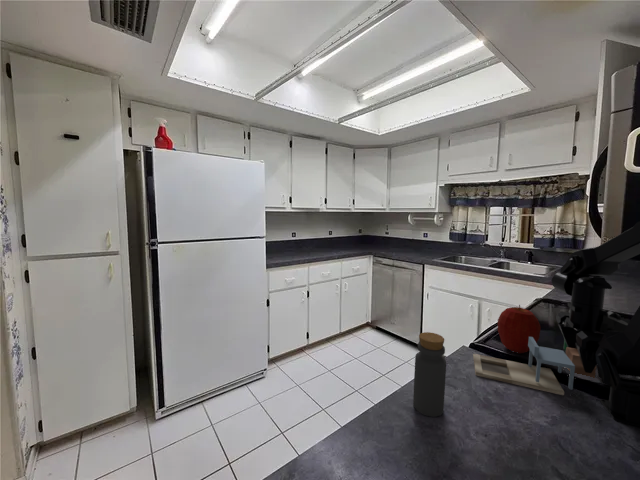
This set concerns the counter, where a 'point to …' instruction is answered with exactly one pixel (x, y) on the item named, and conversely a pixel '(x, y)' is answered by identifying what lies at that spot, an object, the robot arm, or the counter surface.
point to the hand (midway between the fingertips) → (580, 363)
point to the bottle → (430, 375)
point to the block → (578, 362)
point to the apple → (518, 328)
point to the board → (516, 373)
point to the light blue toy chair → (550, 360)
